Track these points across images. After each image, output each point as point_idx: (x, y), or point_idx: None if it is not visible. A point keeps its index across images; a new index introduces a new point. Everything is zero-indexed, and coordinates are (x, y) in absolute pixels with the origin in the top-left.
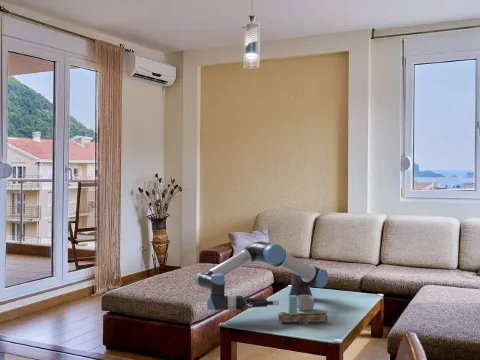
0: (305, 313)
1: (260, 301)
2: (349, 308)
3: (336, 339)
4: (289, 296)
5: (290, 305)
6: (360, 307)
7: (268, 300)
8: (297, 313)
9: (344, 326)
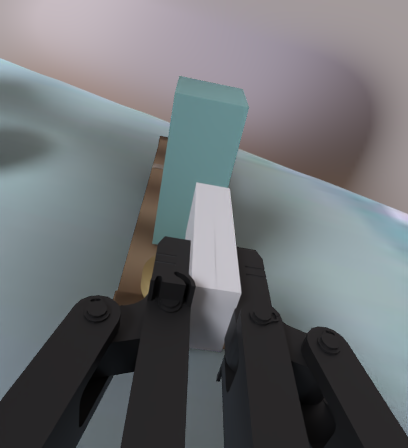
0: (160, 182)
1: (302, 428)
2: (7, 87)
3: (404, 219)
4: (230, 103)
5: (228, 180)
6: (13, 74)
7: (238, 275)
8: (153, 207)
9: (236, 159)
